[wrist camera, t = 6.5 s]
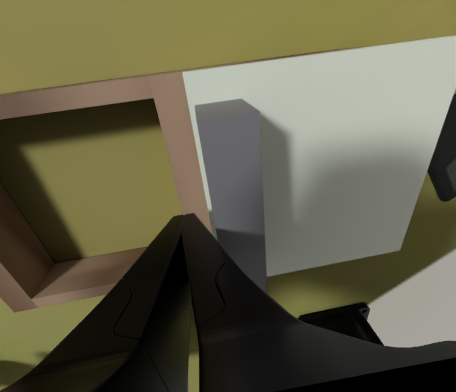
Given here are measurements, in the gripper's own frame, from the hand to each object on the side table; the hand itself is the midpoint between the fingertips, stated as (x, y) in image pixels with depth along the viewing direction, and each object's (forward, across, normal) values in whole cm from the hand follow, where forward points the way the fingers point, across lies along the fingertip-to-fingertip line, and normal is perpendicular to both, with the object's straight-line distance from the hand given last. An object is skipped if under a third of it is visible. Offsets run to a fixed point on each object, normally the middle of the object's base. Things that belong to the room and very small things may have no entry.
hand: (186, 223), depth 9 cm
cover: (+2, -6, 0) cm, 6 cm away
